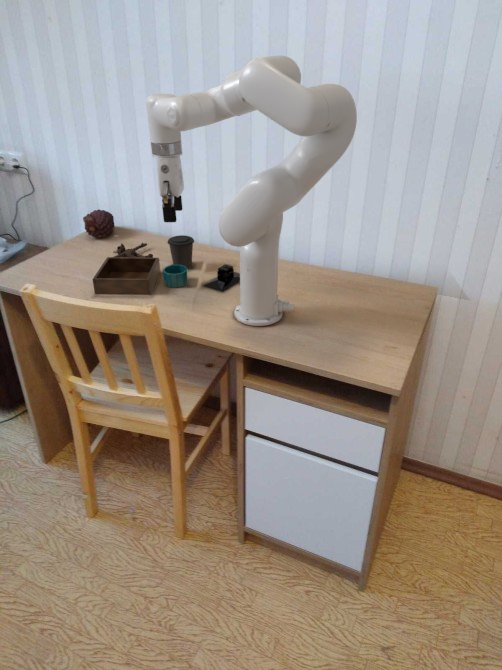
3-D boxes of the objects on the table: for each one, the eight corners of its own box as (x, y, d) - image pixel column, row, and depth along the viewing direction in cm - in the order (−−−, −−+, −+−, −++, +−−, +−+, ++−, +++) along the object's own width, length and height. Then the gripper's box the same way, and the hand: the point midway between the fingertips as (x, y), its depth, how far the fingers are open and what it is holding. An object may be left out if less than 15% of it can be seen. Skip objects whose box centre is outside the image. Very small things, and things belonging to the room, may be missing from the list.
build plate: (222, 292, 151) (221, 277, 149) (202, 286, 155) (201, 271, 152) (247, 276, 160) (247, 262, 157) (228, 271, 163) (227, 257, 161)
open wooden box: (160, 273, 162) (159, 257, 159) (150, 297, 148) (148, 279, 146) (109, 273, 162) (107, 256, 159) (95, 296, 149) (92, 279, 146)
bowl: (189, 280, 158) (188, 264, 155) (186, 290, 152) (185, 274, 149) (166, 279, 158) (165, 264, 155) (162, 290, 152) (161, 274, 150)
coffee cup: (196, 272, 162) (195, 241, 157) (170, 274, 161) (167, 243, 156) (195, 262, 169) (193, 232, 164) (169, 264, 168) (166, 233, 163)
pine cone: (94, 225, 198) (106, 202, 195) (116, 241, 198) (129, 218, 195) (70, 229, 181) (82, 204, 178) (93, 245, 181) (107, 221, 178)
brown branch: (128, 264, 160) (94, 249, 166) (128, 277, 162) (95, 262, 169) (168, 246, 173) (136, 232, 179) (168, 258, 175) (136, 244, 181)
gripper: (176, 156, 125) (182, 226, 133) (186, 141, 139) (192, 206, 148) (144, 156, 125) (152, 226, 134) (158, 142, 140) (165, 206, 148)
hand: (173, 216), depth 141 cm, fingers open, 9 cm apart
